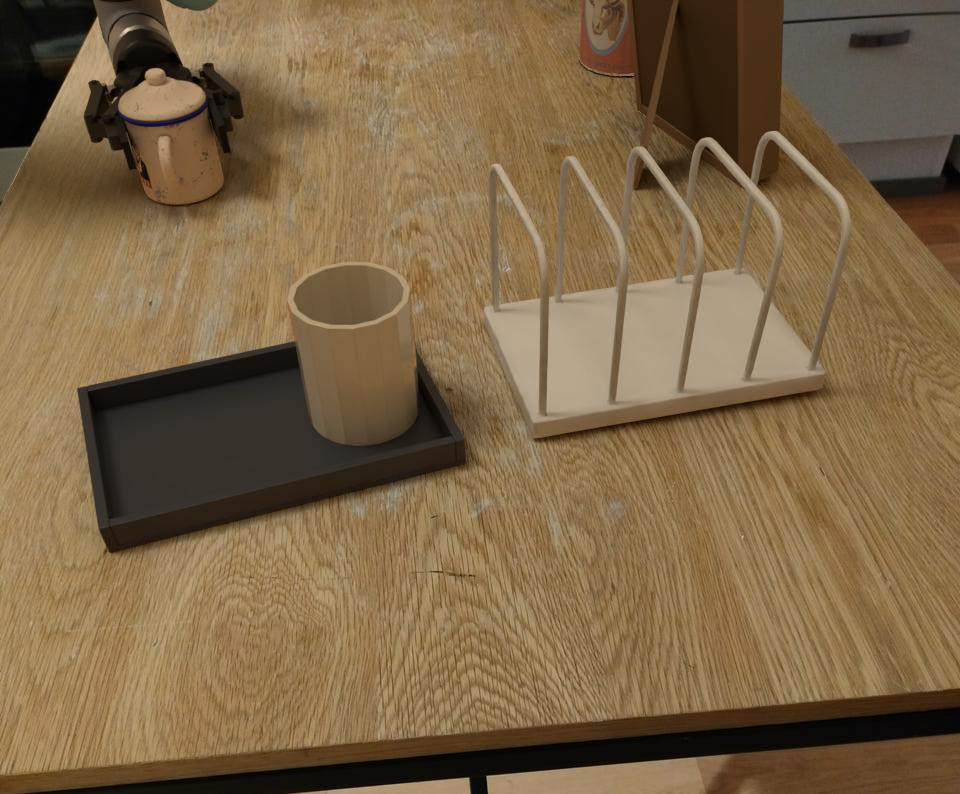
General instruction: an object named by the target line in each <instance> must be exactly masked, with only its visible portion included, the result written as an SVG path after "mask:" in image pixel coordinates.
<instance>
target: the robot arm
mask: <svg viewBox="0 0 960 794" xmlns="http://www.w3.org/2000/svg"><path fill="white" fill-rule="evenodd" d="M92 1H93V4H94V8H95V12H96V15H97V18H98V26H99V28H100V31H101V36H102V39H103V41H104V44H105V45H106V47H107V50H108V55H109V59H110V62H111V67H112V68H113V72H114V76H115V78H114V80H113V84H109V85H107V83H105V82H103V83H101V82H100V80H97V79H91V80H89V81H88V82H87V84H88V88H89V91H90V93H89V97H88V100H87V103H86V106H85V110H84V113H83V120H84V124H85V126H86V129H87V132H88V136H89V139H90V142H91V143H94V144H98V143H101V142H103V141H104V139H107V140H108V143H109V146H110V150H111V151H113V152H117V151H123V154H124V157H125V161H126V164H127V167H128V171H135V170H138V168H137V165H136V161H135V158H134V155H133V151H132V148H131V145H130V141H129V138H128V135H127V131H126V128H125V125H124V121H123V119H122V118H121V117H120V116H119V113H118V104H119V100H120V98H121V97H122V96H123V95H124V94H125V93H126V92H127V91H129V90H131V89H132V88H135V87H137V86H138V85H139V84H140V83H142V82H143V81H145V80H146V78H145V73H146V71H148V70H149V69H153V68H159V69H162V70H163V71H164V72H165V74H166V77H170V78H173V79H176V80H181V81H187V82H191V83H193V84H196V85H197V86H199V87H200V88H201V89H202V90H203V91H204V92H205V95H206V96H207V98H208V105H207V108H208V112H209V116H210V121H211V125H212V129H213V133H214V135H215V136H216V137H215V138H216V139H217V142H218V143H219V144H218V145H219V146H220V148H221V151H222V153H223V154H224V155H225V154H231V153H232V151H231V145H230V141H229V140H230V139H229V136H228V133H230V132H234V130H235V128H234V122H233V119H235V120H242V119H244V118H245V112H244V111H245V110H244V106H243V102H242V96H241V92H240V90H238V89H237V88H236V87H235V86H234V85H232V84H231V83H230V82H229V81H228V80H226V79H225V78H224V77H223V76H222V75H221V74H219V73H218V72H217V70H215V65H214V63H213V62H205V63H203V64H202V67H201V68H199V69H198V71H193V72H192V71H191V69H189V68H188V67H187V66H185V65H184V64H183V61H182V59H181V57H180V54H179V52H178V49H177V47H176V45H175V43H174V41H173V39H172V37H171V35H170V31H169V27H168V25H167V22H166V18H165V14H164V10H163V5H162V2H161V0H92ZM165 1H166V2H168V3H170V4H171V5H173V6H175V7H178V8H180V9H183V10H185V9H187V10H189V11H194V12H201V11H202V12H203V11H206V10H208V9H210V8H212V7H213V6H215V5H216V4H217V3H218V2H219V0H165Z"/></svg>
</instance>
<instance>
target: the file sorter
mask: <svg viewBox="0 0 960 794" xmlns="http://www.w3.org/2000/svg"><path fill="white" fill-rule="evenodd" d="M769 140H773V141H774V142H775V143H776V144H777V145H778V146H779V149H781V151H783V152H784V153H785V154H786V155H787V156H788V157H789V158H790V159H791V160H792V162H794V163H795V165H797V166H798V167H799V168H800V169H801V171H803V172H804V173H805V175H806V176H807V177H808V178H809V179H810V180H811V181H812V182H813V183H815V185H816V186H817V187H818V188H819V189H820V190H821V191H822V192H823V193H824V194H825V195H826V196H827V198H829V200H830V201H832V202H833V204H834V205H835V206H836V209H837V211H838V214H839V217H840V218H839V219H840V224H841V225H840V227H841V229H840V231H841V233H840V241H839V245H838V250H837V254H836V259H835V262H834V265H833V269H832V272H831V277H830V280H829V284H828V285H829V286H828V287H827V293H826V295H825V296H826V297H825V299H824V304H823V307H822V311H821V314H820V320H819V322H818V326H817V328H816V329H817V330H816V333H815V336H814V341H813V345H812V349H809V348H808V346H807V345H806V344H805V342H804V341H803V340H802V339H801V337H800V336H799V335H798V334H797V333H796V331H795V330H794V329H793V328H792V326H791V325H790V324H789V323H788V321H787V320H786V319H785V317H784V316H783V315H782V314H781V312H780V311H779V310H778V309H777V307H776V306H775V304H774V303H773V302H772V300H773V297H774V292H775V289H776V285H777V281H778V277H779V272H780V268H781V265H782V261H783V256H784V247H785V239H784V229H783V223H782V220H781V216H780V214H779V212H778V210H777V208H775V206H774V204H772V202H771V201H770V200H769V199H768V198H767V197H766V196H765V194H764V193H763V192H762V191H761V190H760V189H759V187H758V185H759V181H758V179H759V174H760V168H761V163H762V158H763V154H764V150H765V147H766V145H767V143H768V141H769ZM706 146H707V147H708V148H709V149H710V150H711V151H712V152H713V153H714V154H715V155H716V157H717V158H718V159H719V160H720V161H721V162H722V163H723V164H724V166H725V167H726V168H727V169H728V170H729V172H731V173H732V175H733V176H734V177H735V178H736V179H737V181H738V182H739V183H740V184H741V185H742V186H743V188H742V189H744V190H745V191H746V193H747V198H746V203H745V208H744V214H743V219H742V225H741V229H740V230H741V231H740V236H739V241H738V247H737V253H736V258H735V262H734V263H735V264H734V267H733V268H727V269H719V270H714V271H707V272H705V257H706V255H705V254H706V253H705V243H704V236H703V233H702V229H701V227H700V224H699V222H698V219H697V218H696V217H695V215H694V213H693V206H694V200H695V192H696V187H697V181H698V173H699V166H700V160H701V157H700V156H701V153H702V151H703V149H704V147H706ZM638 156H640V158H641V159H642V160H643V161H644V165H645V166H646V167H647V169H648V170H649V171H650V173H651V175H653V177H654V178H655V180H656V181H657V182H658V184H659V185H660V187H661V188H662V190H663V191H664V193H665V194H666V195H667V197H668V198H669V200H670V201H671V203H673V205H674V207H675V209H676V210H677V212H678V213H679V214H680V216H681V217H682V227H681V233H680V241H679V249H678V256H677V257H678V258H677V262H676V263H677V264H676V271H675V277H669V278H662V279H657V280H656V279H655V280H651V281H643V282H637V283H631V284H629V261H628V259H629V258H628V252H627V245H628V237H629V227H630V226H629V225H630V214H631V205H632V197H633V186H634V169H635V165H636V161H637V157H638ZM560 167H561V169H560V175H559V195H558V214H557V215H558V217H557V237H556V238H557V241H556V259H555V260H556V262H555V263H556V264H555V284H554V285H555V291H554V295H553V296H552V295H551V296H550V276H549V275H550V273H549V266H548V259H547V254H546V249H545V247H544V243H543V240H542V237H541V236H540V233H539V231H538V230H537V228H536V226H535V224H534V222H533V220H532V218H531V217H530V214H529V213H528V211H527V209H526V207H525V206H524V204H523V201H522V200H521V197H520V196H519V195H518V193H517V191H516V189H515V187H514V185H513V184H512V181H511V180H510V178H509V177H508V175H507V173H506V171H505V169H504V167H503V166H502V165H501V163H493V164H491V165H490V167H489V170H488V181H487V182H488V209H489V210H488V214H489V217H488V218H489V241H490V243H489V244H490V245H489V246H490V247H489V248H490V270H491V271H490V272H491V273H490V275H491V295H492V296H491V301H492V303H491V304H492V305H487V306H484V307H483V325H484V328H485V330H486V332H487V335H488V337H489V339H490V342H491V344H492V346H493V348H494V351H495V353H496V355H497V358H498V360H499V362H500V365H501V367H502V369H503V371H504V374H505V377H506V379H507V382H508V384H509V386H510V388H511V391H512V393H513V395H514V398H515V400H516V403H517V405H518V408H519V409H520V412H521V415H522V417H523V419H524V421H525V424H526V426H527V429H528V432H529V434H530V436H531V437H532V438H533V439H540V438H541V439H542V438H547V437H551V436H557V435H562V434H568V433H569V434H570V433H574V432H581V431H585V430H591V429H596V428H602V427H607V426H614V425H619V424H626V423H633V422H637V421H643V420H650V419H656V418H660V417H666V416H673V415H678V414H684V413H689V412H690V413H691V412H696V411H701V410H702V411H703V410H708V409H713V408H719V407H725V406H732V405H736V404H743V403H747V402H748V403H749V402H753V401H760V400H766V399H772V398H777V397H778V398H779V397H784V396H788V395H793V394H794V395H795V394H801V393H807V392H813V391H819V390H821V389H823V386H824V382H825V378H826V375H827V371H826V370H825V369H824V367H823V366H822V365H821V364H820V362H819V357H820V353H821V350H822V348H823V347H822V346H823V342H824V339H825V336H826V332H827V328H828V325H829V321H830V318H831V314H832V312H833V311H832V310H833V307H834V302H835V299H836V295H837V292H838V288H839V285H840V281H841V277H842V274H843V270H844V267H845V262H846V259H847V255H848V251H849V247H850V243H851V235H852V218H851V213H850V209H849V205H848V203H847V201H846V200H845V198H844V197H843V195H842V194H841V193H840V192H839V191H838V190H837V189H836V188H835V186H834V185H833V184H831V182H830V181H829V180H828V179H827V178H825V176H823V174H822V173H820V171H819V170H818V169H817V168H816V167H815V166H814V165H813V164H812V163H811V161H809V160H808V159H807V158H806V156H804V155H803V154H802V153H801V152H800V151H799V150H798V149H797V148H796V147H794V145H793V144H792V143H791V142H790V141H789V140H788V139H787V138H786V137H785V136H784V135H783V134H781V132H780V133H779V132H777V131H770V132H767V133H765V134H764V135H763V136H762V137H761V139H760V141H759V144H758V147H757V150H756V154H755V159H754V164H753V170H752V175H751V180H750V179H749V178H748V176H747V175H746V174H745V173H744V172H743V171H742V170H741V168H740V167H739V166H738V165H737V164H736V163H735V162H734V161H733V159H732V158H731V157H730V156H729V155H728V154H727V153H726V152H725V151H724V149H723V148H722V147H721V146H720V145H719V144H718V143H717V142H716V141H715V140H714V139H713V138H709V137H708V138H703V139H701V140H700V141H699V142H698V143H697V144H696V146H695V149H694V152H693V151H692V157H691V161H690V167H689V175H688V183H687V187H686V188H687V189H686V196H685V201H684V199H683V198H682V197H681V195H680V194H679V192H678V191H677V190H676V187H675V186H674V185H673V184H672V182H671V181H670V180H669V179H668V177H667V176H666V174H665V173H664V172H663V170H662V169H661V168H660V166H659V165H658V163H657V162H656V160H655V158H654V157H653V156H652V155H651V154H650V152H649V150H646V149H645V148H644V147H642V146H640V145H639V146H635V147H633V148H632V149H631V150H630V153H629V155H628V159H627V163H626V171H625V179H624V180H625V181H624V192H623V202H622V212H621V222H620V227H619V225H618V224H617V222H616V221H615V219H614V217H613V216H612V214H611V212H610V211H609V208H608V207H607V205H606V204H605V202H604V200H603V199H602V197H601V196H600V194H599V192H598V190H597V189H596V188H595V186H594V183H593V182H592V181H591V179H590V178H589V176H588V174H587V172H586V171H585V169H584V168H583V166H582V164H581V162H580V161H579V159H578V158H577V157H576V156H574V155H568V156H566V157H564V158H563V161H562V164H561V166H560ZM570 168H571V169H572V170H573V172H574V174H575V175H576V177H577V178H578V180H579V182H580V184H581V185H582V188H583V190H584V191H585V192H586V194H587V195H588V197H589V199H590V201H591V202H592V204H593V206H594V207H595V209H596V211H597V213H598V214H599V216H600V218H601V219H602V221H603V222H604V224H605V226H606V227H607V229H608V231H609V232H610V235H611V237H612V238H613V241H614V243H615V246H616V250H617V255H618V256H617V257H618V258H617V268H616V269H617V270H616V278H615V279H616V280H615V281H616V282H615V286H611V287H610V286H609V287H605V288H604V287H603V288H598V289H591V290H585V291H584V290H583V291H579V292H577V291H576V292H571V293H566V294H563V281H564V262H565V261H564V260H565V259H564V258H565V239H566V237H565V236H566V218H567V203H568V202H567V201H568V186H569V185H568V184H569V173H570ZM497 180H499V182H500V183H501V185H502V187H503V189H504V191H505V193H506V195H507V197H508V198H509V200H510V202H511V204H512V206H513V208H514V210H515V211H516V213H517V215H518V217H519V219H520V220H521V223H522V224H523V226H524V228H525V230H526V232H527V234H528V235H529V237H530V240H531V242H532V244H533V247H534V250H535V253H536V258H537V263H538V269H539V284H540V285H539V287H540V288H539V289H540V290H539V291H540V294H539V295H540V296H539V298H538V297H537V298H531V299H526V300H525V299H524V300H518V301H511V302H506V303H505V302H504V303H500V278H499V277H500V270H499V269H500V265H499V239H498V234H499V233H498V195H497V193H498V192H497V183H498V181H497ZM755 203H756V204H757V205H758V206H759V207H760V208H761V209H762V211H763V213H765V215H766V216H767V218H768V220H769V222H770V224H771V227H772V230H773V237H774V238H773V240H774V241H773V242H774V245H773V247H774V248H773V255H772V259H771V265H770V270H769V273H768V277H767V281H766V284H765V285H766V286H765V288H764V290H763V289H762V288H761V286H760V285H759V284H758V282H757V281H755V279H754V277H752V275H751V274H750V273H749V272H748V270H747V269H746V268H745V267H743V264H744V259H745V258H744V257H745V253H746V248H747V242H748V238H749V237H748V236H749V232H750V226H751V220H752V215H753V210H754V204H755ZM690 232H691V235H692V238H693V242H694V250H695V264H694V273H693V274H688V275H684V269H685V262H686V257H687V256H686V255H687V250H688V243H689V242H688V241H689V234H690Z"/></svg>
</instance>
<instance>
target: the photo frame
mask: <svg viewBox="0 0 960 794" xmlns="http://www.w3.org/2000/svg"><path fill="white" fill-rule="evenodd" d="M627 3H628V14H629V25H630V36H631V47H632V57H633V68H634V77H633V78H634V89H635V99H636V109H637V110H638V111H640V112H641V113H642V114H644V115H645V116H646V117H645V121H644V125H643V131H642V135H641V139H640V144H639V147H640V146H642V147H644V148H645V149H646V150H647V151H649V150H648V149H649V146H650V141H651V136H652V132H653V127H654V125H655V124H656V126H657V125H658V126H659V127H658V126H657V127H658V128H660V129H661V130H662V131H663V132H665V133H666V132H667V133H666V134H668V135H669V136H670V137H672V138H673V139H675V141H677V142H678V143H680V144H681V145H683V146H684V147H686V149H688V150H690V151H691V152H692V153H693V152H694V149H695V146H696V144H697V143H698V142H699V141H700V140H701V139H703V138H708V137H709V138H713V139H714V140H715V141H716V142H717V143H718V144H719V145H720V146H721V147H722V148H723V149H724V151H725V152H726V153H727V154H728V155H729V156H730V157H731V158H732V159H733V161H734V162H735V163H736V164H737V165H738V166H739V167H740V168H741V170H742V171H743V172H744V173H745V174H746V175H747V176H748V178H749V179H750V180H751V175H752V170H753V164H754V159H755V154H756V150H757V147H758V144H759V141H760V139H761V137H762V136H763V135H764V134H765V133H767V132H770V131H777V132H779V133H780V134H781V114H782V113H781V112H782V111H781V110H782V107H781V106H782V81H783V79H782V75H783V45H784V44H783V43H784V12H785V11H784V10H785V0H627ZM637 110H636V111H637ZM638 111H637V112H638ZM642 114H641V115H642ZM653 122H654V123H655V124H654V123H653ZM700 159H702V160H704V162H706V163H707V164H710V166H712V167H714V168H715V169H716V170H717V171H718V172H720V173H722V175H724V176H726V177H727V178H729V180H731V181H733V182H734V183H735V184H737V185H738V186H740V187H741V188H742V189H744V188H743V186H742V185H741V184H740V183H739V182H738V181H737V179H736V178H735V177H734V176H733V175H732V173H731V172H729V170H728V169H727V168H726V167H725V166H724V164H723V163H722V162H721V161H720V160H719V159H718V158H717V157H716V155H715V154H714V153H713V152H712V151H711V150H710V149H709V148H708V147H707V146H706V147H704V149H703V151H702V153H701V156H700ZM644 165H645V163H644V161H643V160H642V159H641V158H640V156H638V157H637V159H636V163H635V168H634V177H633V188H634V189H638V187H639V183H640V181H641V177H642V173H643V168H644ZM779 170H780V147H779V146H778V145H777V144H776V143H775V142H774V141H773V140H769V141H768V143H767V145H766V147H765V150H764V154H763V158H762V163H761V168H760V174H759V179H758V182H760V181H762V180H764V179H766V178H767V177H770V176H771V175H773V174H775V173H777V172H779Z"/></svg>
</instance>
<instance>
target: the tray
mask: <svg viewBox="0 0 960 794" xmlns="http://www.w3.org/2000/svg"><path fill="white" fill-rule="evenodd" d="M415 351H416V363H417V376H418V388H419V401H420V403H419V413H418V417H417V419H416V421H415V422H414V424H413V425H412V426H411V427H410V428H409V429H408V430H407V431H406V432H404V433H403V434H401V435H400V436H398V437H396V438H394V439H391V440H389V441H386V442H383V443H379V444H374V445H366V446H353V445H345V444H340V443H337V442H334V441H331V440H329V439H327V438H325V437H324V436H322V435H321V434H320V433H319V432H317V431H316V429H315V428H314V427H313V425H312V423H311V419H310V416H309V413H308V408H307V403H306V398H305V392H304V387H303V382H302V377H301V372H300V366H299V361H298V356H297V351H296V346H295V340H293V341H290V342H283V343H280V344H275V345H269V346H265V347H261V348H256V349H252V350H247V351H242V352H237V353H232V354H228V355H223V356H219V357H215V358H209V359H205V360H199V361H195V362H192V363H186V364H181V365H178V366H173V367H168V368H162V369H158V370H154V371H150V372H149V371H148V372H145V373H144V372H143V373H140V374H135V375H131V376H126V377H121V378H117V379H111V380H107V381H103V382H102V381H101V382H97V383H94V384H88V385H84V386H80V387H77V388H76V392H77V397H78V405H79V411H80V417H81V424H82V430H83V437H84V444H85V450H86V456H87V463H88V469H89V475H90V482H91V488H92V495H93V502H94V507H95V508H94V509H95V514H96V515H95V516H96V521H97V527H98V528H97V529H98V531H99V533H100V535H101V538H102V539H103V542H104V544H105V546H106V549H107V551H108V553H113V552H118V551H121V550H125V549H128V548H133V547H138V546H141V545H144V544H149V543H152V542H158V541H160V540H165V539H168V538H172V537H176V536H180V535H184V534H189V533H194V532H197V531H200V530H205V529H209V528H213V527H217V526H220V525H224V524H225V525H226V524H228V523H233V522H238V521H241V520H245V519H248V518H252V517H256V516H261V515H264V514H269V513H272V512H277V511H281V510H284V509H288V508H292V507H296V506H300V505H301V506H302V505H304V504H309V503H312V502H317V501H320V500H324V499H328V498H333V497H337V496H340V495H345V494H349V493H352V492H356V491H360V490H364V489H368V488H372V487H376V486H381V485H385V484H389V483H391V482H396V481H400V480H405V479H408V478H412V477H416V476H420V475H425V474H428V473H433V472H436V471H441V470H444V469H449V468H452V467H455V466H456V467H457V466H460V465H464V464H466V463H467V456H466V455H467V454H466V453H467V452H466V451H467V450H466V439H465V436H464V434H463V433H462V431H461V429H460V427H459V426H458V424H457V422H456V420H455V418H454V416H453V414H452V413H451V411H450V409H449V407H448V405H447V403H446V402H445V399H444V398H443V397H442V395H441V393H440V391H439V389H438V387H437V385H436V383H435V382H434V380H433V378H432V376H431V374H430V373H429V370H428V369H427V367H426V365H425V364H424V362H423V360H422V358H421V356H420V354H419V352H418V350H417V348H415Z"/></svg>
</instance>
